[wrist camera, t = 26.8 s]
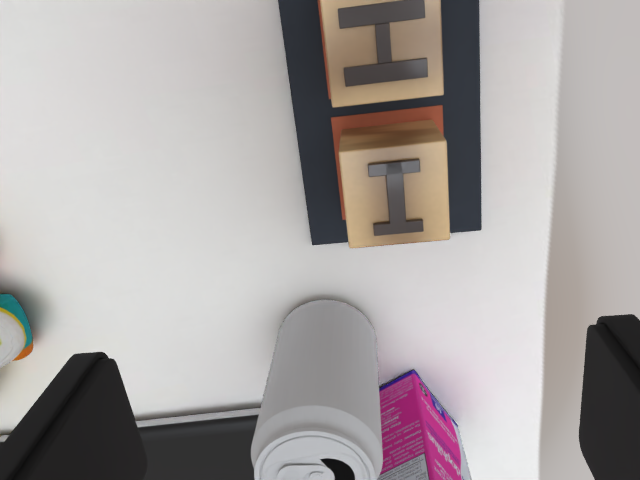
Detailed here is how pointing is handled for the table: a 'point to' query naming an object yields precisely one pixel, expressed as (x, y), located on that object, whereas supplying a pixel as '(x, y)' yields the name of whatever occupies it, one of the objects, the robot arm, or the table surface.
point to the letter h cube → (382, 50)
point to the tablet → (199, 446)
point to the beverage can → (321, 399)
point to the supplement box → (418, 434)
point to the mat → (383, 115)
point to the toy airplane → (13, 331)
